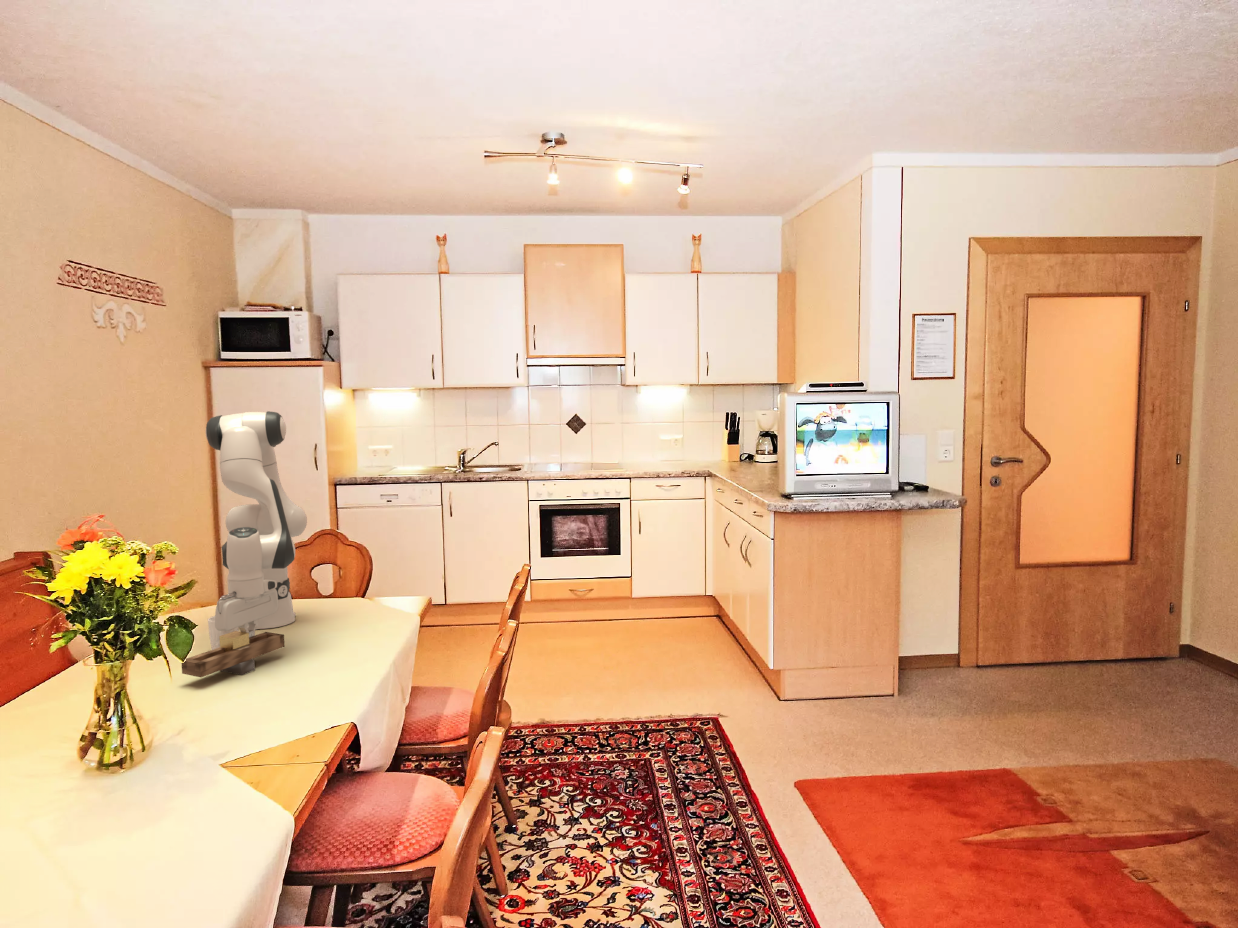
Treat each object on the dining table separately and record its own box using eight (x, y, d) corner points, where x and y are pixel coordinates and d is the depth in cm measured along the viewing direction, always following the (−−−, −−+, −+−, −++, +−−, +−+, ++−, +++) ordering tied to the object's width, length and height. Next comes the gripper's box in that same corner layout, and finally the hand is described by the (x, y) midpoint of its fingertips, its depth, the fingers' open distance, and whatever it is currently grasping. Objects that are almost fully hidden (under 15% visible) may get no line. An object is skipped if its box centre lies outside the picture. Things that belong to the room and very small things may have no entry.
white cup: (245, 647, 225) (244, 613, 224) (229, 656, 217) (227, 621, 217) (220, 646, 226) (218, 613, 225) (203, 655, 218) (201, 621, 217)
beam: (204, 689, 192) (202, 663, 191) (180, 684, 196) (178, 659, 195) (287, 657, 216) (286, 634, 215) (264, 653, 219) (263, 630, 219)
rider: (233, 657, 202) (232, 638, 201) (220, 655, 204) (219, 636, 203) (249, 652, 206) (248, 632, 206) (236, 649, 208) (235, 630, 208)
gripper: (227, 598, 197) (230, 650, 198) (281, 580, 216) (283, 627, 218) (207, 596, 198) (209, 648, 199) (262, 579, 218) (264, 626, 219)
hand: (248, 637), depth 209 cm, fingers closed
